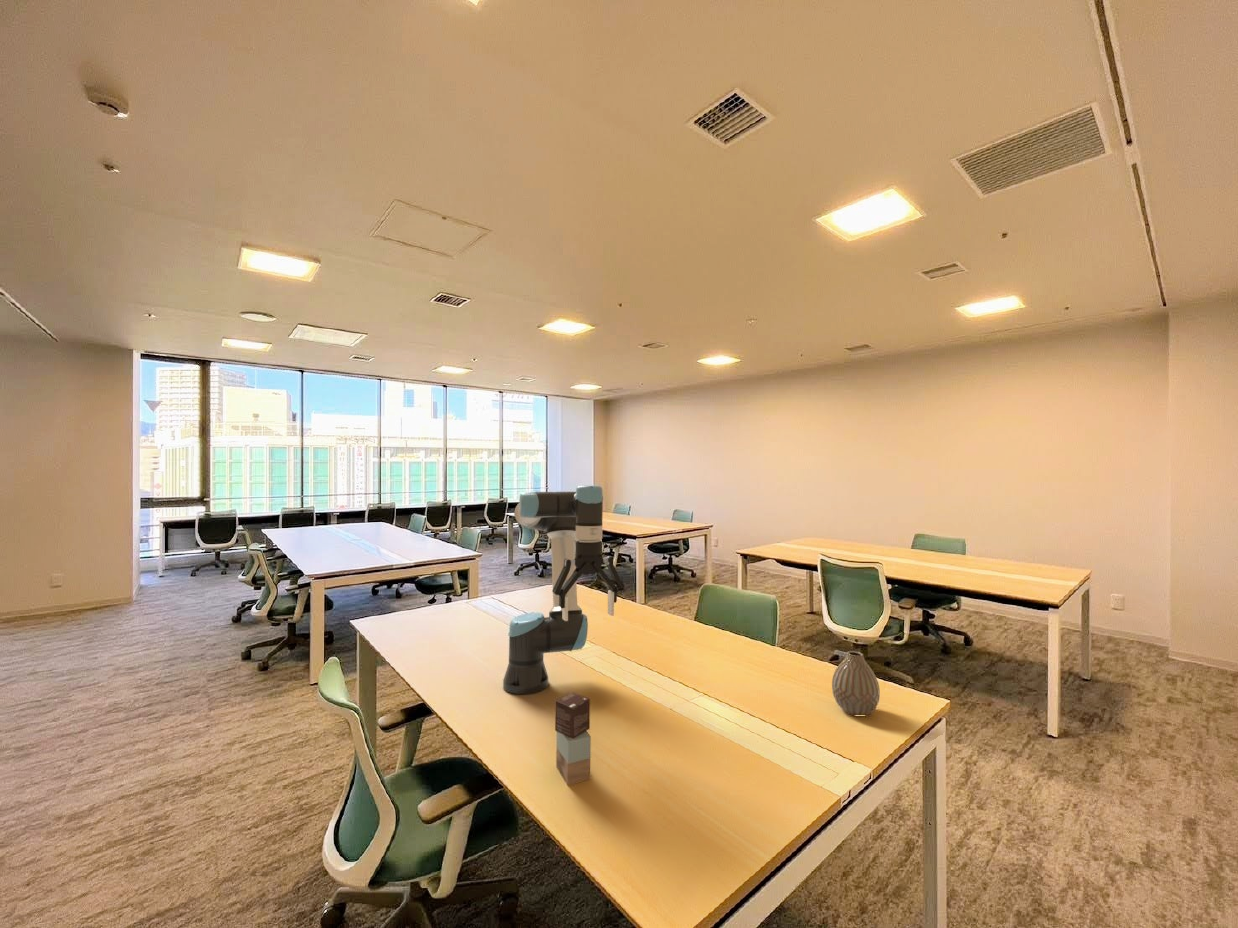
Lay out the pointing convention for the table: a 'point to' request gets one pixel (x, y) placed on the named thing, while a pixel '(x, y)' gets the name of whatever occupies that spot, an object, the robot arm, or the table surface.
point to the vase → (855, 685)
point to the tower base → (573, 769)
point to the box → (572, 715)
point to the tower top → (574, 747)
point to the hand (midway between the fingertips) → (588, 617)
